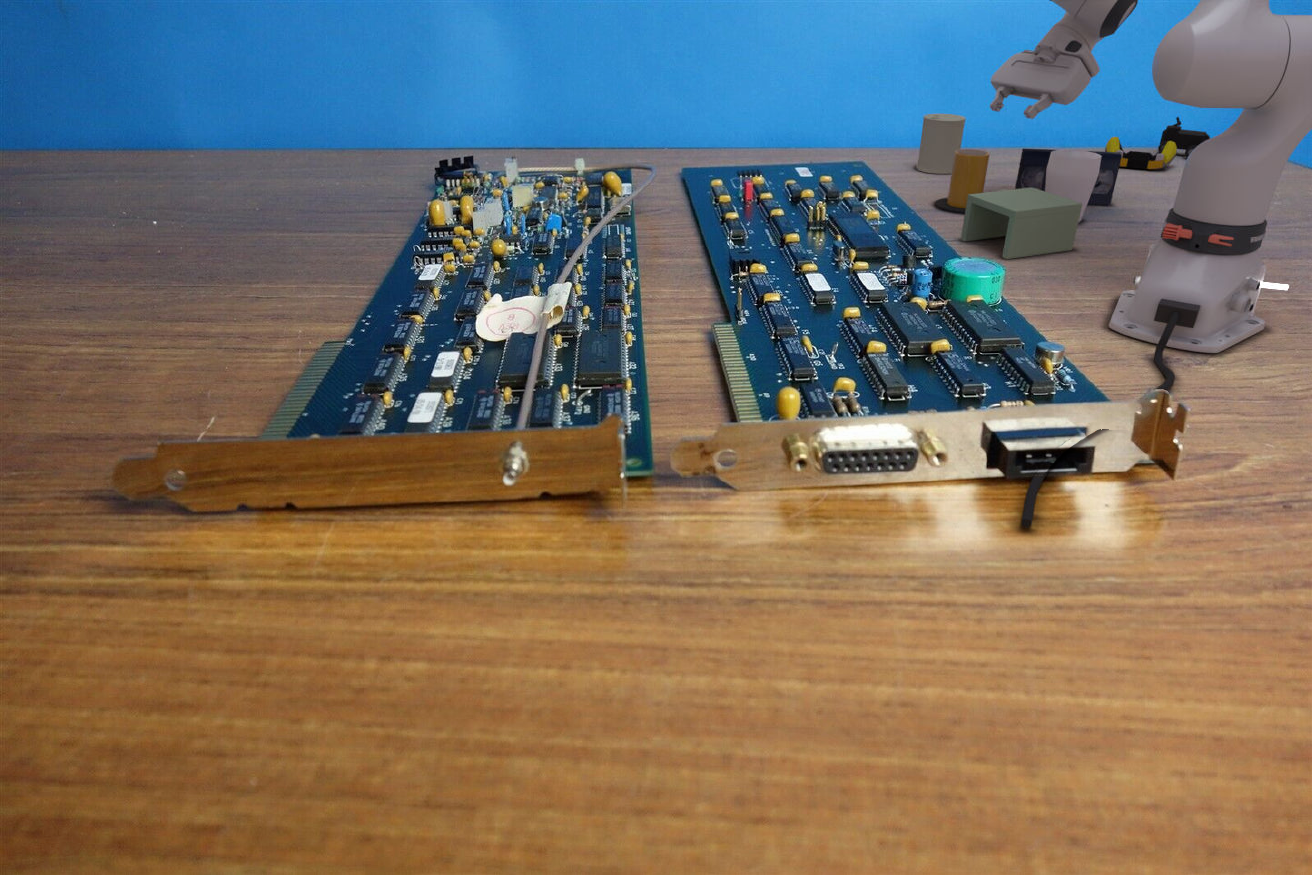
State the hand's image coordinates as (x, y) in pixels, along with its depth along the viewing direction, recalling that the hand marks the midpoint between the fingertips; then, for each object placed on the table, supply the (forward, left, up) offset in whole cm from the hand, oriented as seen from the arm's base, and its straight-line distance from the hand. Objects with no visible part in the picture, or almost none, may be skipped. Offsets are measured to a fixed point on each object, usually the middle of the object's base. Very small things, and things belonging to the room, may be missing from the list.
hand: (1010, 112), depth 178 cm
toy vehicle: (+76, -17, -18) cm, 80 cm away
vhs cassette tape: (+11, -9, -18) cm, 23 cm away
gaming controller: (+56, -10, -18) cm, 59 cm away
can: (+21, +23, -18) cm, 35 cm away
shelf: (-24, -14, -17) cm, 33 cm away
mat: (-6, +4, -17) cm, 19 cm away
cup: (-2, -14, -18) cm, 23 cm away
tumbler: (-6, +4, -17) cm, 18 cm away
